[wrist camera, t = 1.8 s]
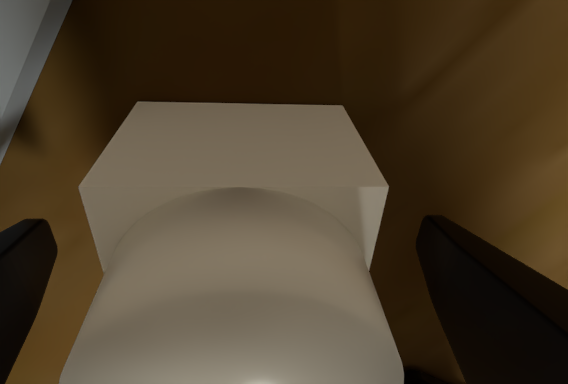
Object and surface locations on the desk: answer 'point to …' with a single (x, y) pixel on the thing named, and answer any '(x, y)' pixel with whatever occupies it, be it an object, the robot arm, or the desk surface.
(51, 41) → the panel
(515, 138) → the desk surface
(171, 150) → the knob
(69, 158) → the desk surface
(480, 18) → the desk surface
